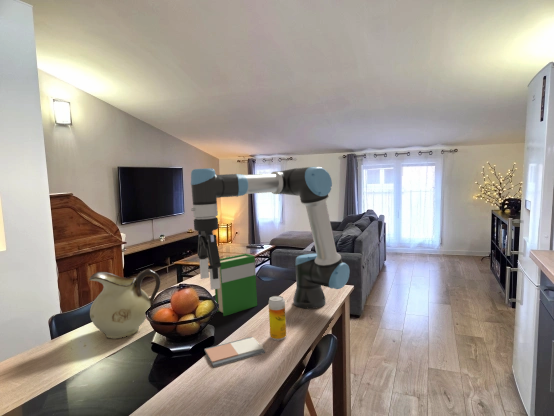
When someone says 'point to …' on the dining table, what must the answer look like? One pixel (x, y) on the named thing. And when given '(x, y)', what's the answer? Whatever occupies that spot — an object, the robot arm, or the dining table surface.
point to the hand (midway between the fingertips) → (209, 283)
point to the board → (233, 351)
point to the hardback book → (236, 284)
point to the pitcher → (121, 303)
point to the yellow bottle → (277, 317)
